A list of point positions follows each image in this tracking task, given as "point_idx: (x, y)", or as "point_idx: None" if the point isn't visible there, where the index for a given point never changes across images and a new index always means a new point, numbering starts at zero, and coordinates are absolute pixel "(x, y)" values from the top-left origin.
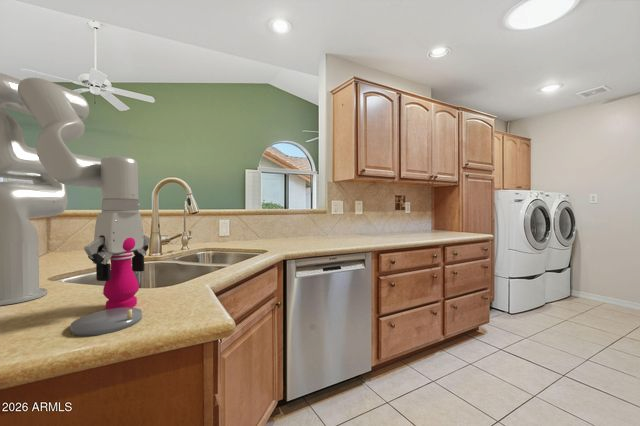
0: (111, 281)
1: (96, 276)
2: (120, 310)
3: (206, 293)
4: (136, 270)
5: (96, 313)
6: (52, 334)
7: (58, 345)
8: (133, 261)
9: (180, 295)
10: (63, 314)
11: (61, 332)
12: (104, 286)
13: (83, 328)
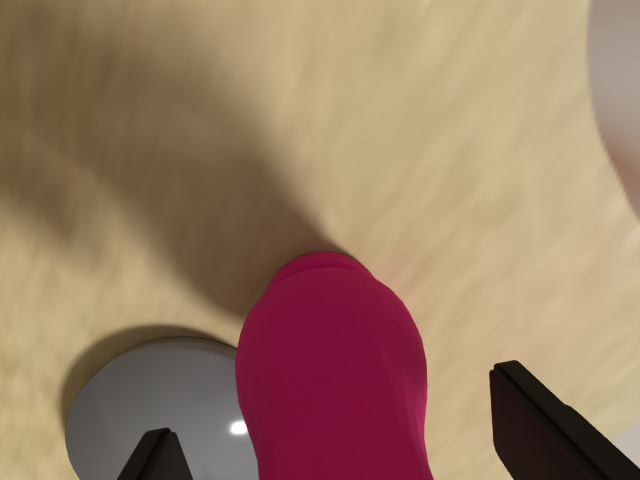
0: (248, 431)
1: (130, 456)
2: None
3: None
4: (495, 409)
5: (182, 368)
6: (41, 362)
7: (27, 460)
8: (562, 465)
9: None
10: (146, 161)
11: (65, 371)
12: (239, 354)
13: (85, 471)
